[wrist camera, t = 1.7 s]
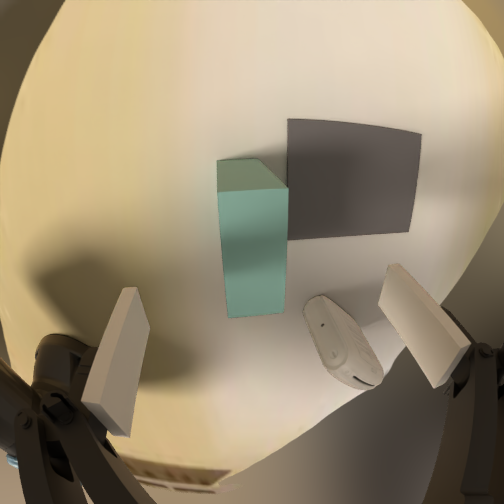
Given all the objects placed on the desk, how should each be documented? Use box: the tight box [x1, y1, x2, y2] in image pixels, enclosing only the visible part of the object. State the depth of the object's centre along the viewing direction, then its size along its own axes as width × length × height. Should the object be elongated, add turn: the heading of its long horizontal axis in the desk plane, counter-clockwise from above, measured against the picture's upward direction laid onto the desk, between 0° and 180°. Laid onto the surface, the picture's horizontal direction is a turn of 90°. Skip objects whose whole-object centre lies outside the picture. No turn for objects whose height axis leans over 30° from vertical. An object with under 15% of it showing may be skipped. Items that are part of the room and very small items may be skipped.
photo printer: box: [303, 295, 384, 390], centre depth 31 cm, size 10×4×12 cm, turn 47°
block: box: [217, 159, 289, 318], centre depth 22 cm, size 4×9×12 cm, turn 1°
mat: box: [287, 119, 421, 240], centre depth 28 cm, size 17×13×1 cm
